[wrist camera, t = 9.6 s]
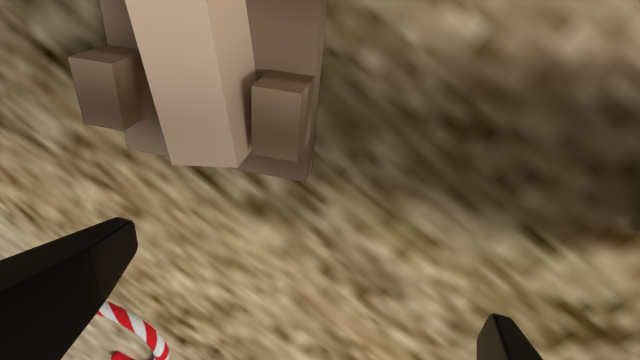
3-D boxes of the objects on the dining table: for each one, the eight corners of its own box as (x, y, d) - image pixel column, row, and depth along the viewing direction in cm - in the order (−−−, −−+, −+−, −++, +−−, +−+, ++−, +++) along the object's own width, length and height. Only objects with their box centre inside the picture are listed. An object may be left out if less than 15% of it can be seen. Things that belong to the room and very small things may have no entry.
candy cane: (0, 260, 30) (175, 345, 31) (15, 249, 31) (183, 331, 32) (1, 313, 34) (155, 386, 35) (14, 302, 35) (163, 373, 36)
